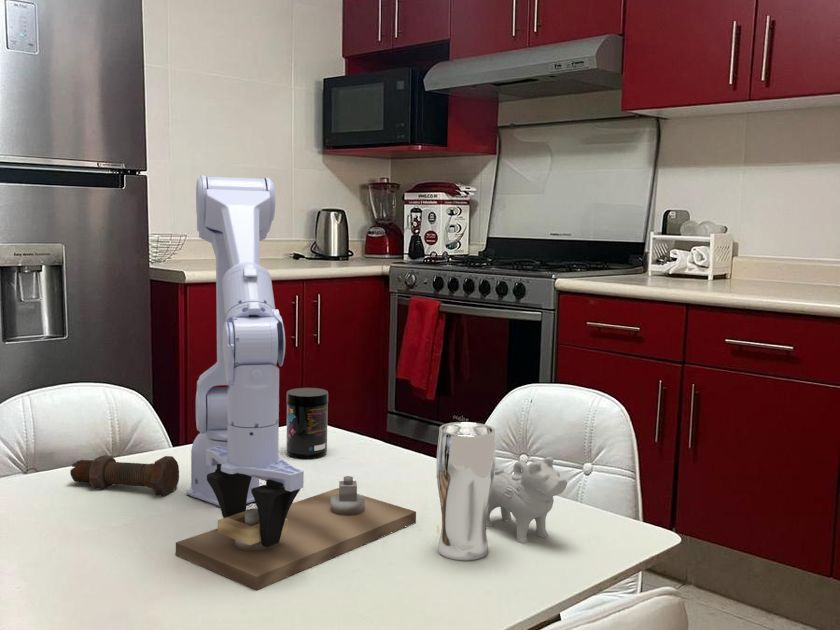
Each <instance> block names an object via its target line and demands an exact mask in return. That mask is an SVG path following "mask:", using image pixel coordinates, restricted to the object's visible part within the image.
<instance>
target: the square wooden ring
mask: <svg viewBox="0 0 840 630" xmlns="http://www.w3.org/2000/svg"><path fill="white" fill-rule="evenodd" d="M252 509H257V507H253V508H252ZM287 526H288V519H285V522H284V526H283V529H282V533H285V532H287ZM217 528H218V533H220V534H222V535H225V536H227V537H230V538H232V539H235V540H238V541H240V542H243V543H245V544H248V545H252V544H255V543H258V542H261V537H260V523H259V524H257V525H254V526H249V525H246V524H245V511H244V512H241V513H238V514H235V515H232V516H229V517H226V518H223V517H222V518H221V519H218V520H217ZM282 533H281V534H282Z"/></svg>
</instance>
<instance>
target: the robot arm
mask: <svg viewBox="0 0 840 630" xmlns="http://www.w3.org/2000/svg"><path fill="white" fill-rule="evenodd" d="M195 190H196V191H195V207H196V209H195V210H196V212H195V213H196V230H197V232H198V237H199V238H200V239H201V240H204V241H206V242H208V243H210V244H211V246H212V249H213V253H214V256H215V275H216V276H215V277H216V280H215V281H216V282H215V285H216V286H215V287H216V289H215V290H216V292H215V293H216V296H215V297H216V362H215V363H214V364H213V365H212V366H210V367H209V368H208V369H207V370H205V371H203V373H202V374H200V375H199V377H198V380H197V381H196V392H195V393H196V394H195V422H196V425H195V426H196V430H197V431H198V432H199V433H198V434H197V436H196V437H195V439H194V440H193V442H192V446H191V450H190V451H191V452H190V454H191V455H190V457H191V458H190V459H191V460H190V462H191V463H190V472H191V473H190V474H191V475H190V477H191V481H190V482H191V484H190V485H191V487H190V488H191V489H187V490H186V492H185V494H186V495H187V496H188V495H189V496H191V497H194V498H196V499H199V500H202V501H205V502H207V503H210V504H213V505H216V506H217V507H219V508H220V511H221V516H222V519H223V518H226V517H229V516H232V515H235V514H238V513H241V512H244V511H245V510H247V505H248V504H250V503H253V502H255V505H256V508H257V509H258V514H259V521H260V537H261V543H262V546H264V547H269V546H271V545H274V544H277V543H279V541H280V537H281V533H282V529H283V526H284V522H285V519H286V516H287V513H288V511H289V509H290V506H291V504H292V503H294V500H295V499H296V497H297V496H298V494H299V492H300V491H301V489H303V488H304V478H305V477H304V472H305V471H304V470H302V469H299V468H297V467H294V466H293V465H292V464H290V463H288V462H287V461H285V460H284V459H283V458H281V457H280V456H279V426H280V425H279V421H280V420H279V419H280V417H279V416H280V415H279V412H280V406H279V405H280V368H279V367H282V366H283V364H284V359H285V355H286V334H285V333H286V331H285V325H284V322H283V318H282V316H281V315H280V311H279V309H276V305H275V298H274V291H273V283H272V282H273V281H272V276H271V273H270V272H269V271H268V270H267V269H266V268H265V267H263V266H262V265H261V264H260V263H261V262H260V261H261V259H260V254H261V253H260V248H261V247H260V246H261V245H260V241H261V242H262V241H264V240H266V239H267V236H268V233H269V232H270V230H271V226H272V223H273V221H274V219H275V213H276V190H275V184H274V182H273V181H272V180H271V178H270V177H264V178H261V177H260V178H258V177H234V176H233V177H231V176H230V177H229V176H227V177H226V176H225V177H224V176H208V175H207V176H206V175H204V174H201V175H200V176H199V177H198V178H197V179H196V186H195ZM277 363H278V365H279V367H278V366H277ZM217 386H226V387H217ZM260 480H261V481H264V482H265V484H263V485H260Z"/></svg>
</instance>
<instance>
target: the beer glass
mask: <svg viewBox="0 0 840 630" xmlns="http://www.w3.org/2000/svg"><path fill="white" fill-rule="evenodd" d="M495 433H496V429H495V428H494V427H493V426H490V425H488V424H484V423H479V422H471V421H455V422H449V423H445V424H442V425H440V426H439V432H438V438H437V439H438V440H437V449H436V480H437V481H436V483H437V489H438V497H439V502H440V503H439V504H440V511H441V512H440V513H441V530H440V534H439V540H438V544H437V552H438V554H440V555H441V556H443V557H445V558H447V559H450V560H454V561H464V562H465V561H466V562H468V561H476V560H477V561H478V560H480V559H482V558H485V557H486V556H487V555H488V553H489V544H488V538H487V537H488V536H487V527H486V517H487V511H488V506H489V502H490V498H491V493H492V488H493V482H494V476H495V466H496V456H497V455H496V438H495V437H496V435H495Z"/></svg>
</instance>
